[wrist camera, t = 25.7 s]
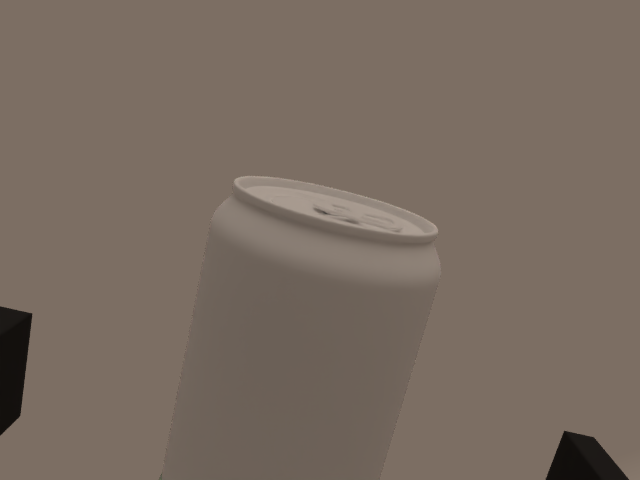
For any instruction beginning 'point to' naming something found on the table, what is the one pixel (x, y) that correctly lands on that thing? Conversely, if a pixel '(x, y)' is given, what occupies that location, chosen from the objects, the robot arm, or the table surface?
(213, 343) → the beverage can
